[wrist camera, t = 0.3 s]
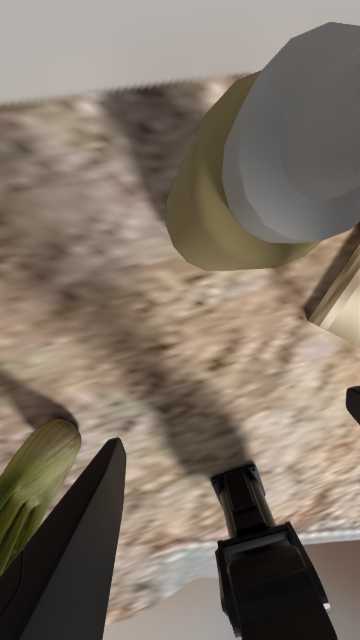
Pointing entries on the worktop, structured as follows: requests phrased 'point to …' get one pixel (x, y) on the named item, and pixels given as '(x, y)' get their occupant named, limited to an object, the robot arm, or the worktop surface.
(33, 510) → the fennel bulb
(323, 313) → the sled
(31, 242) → the worktop surface
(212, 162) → the squeeze bottle
